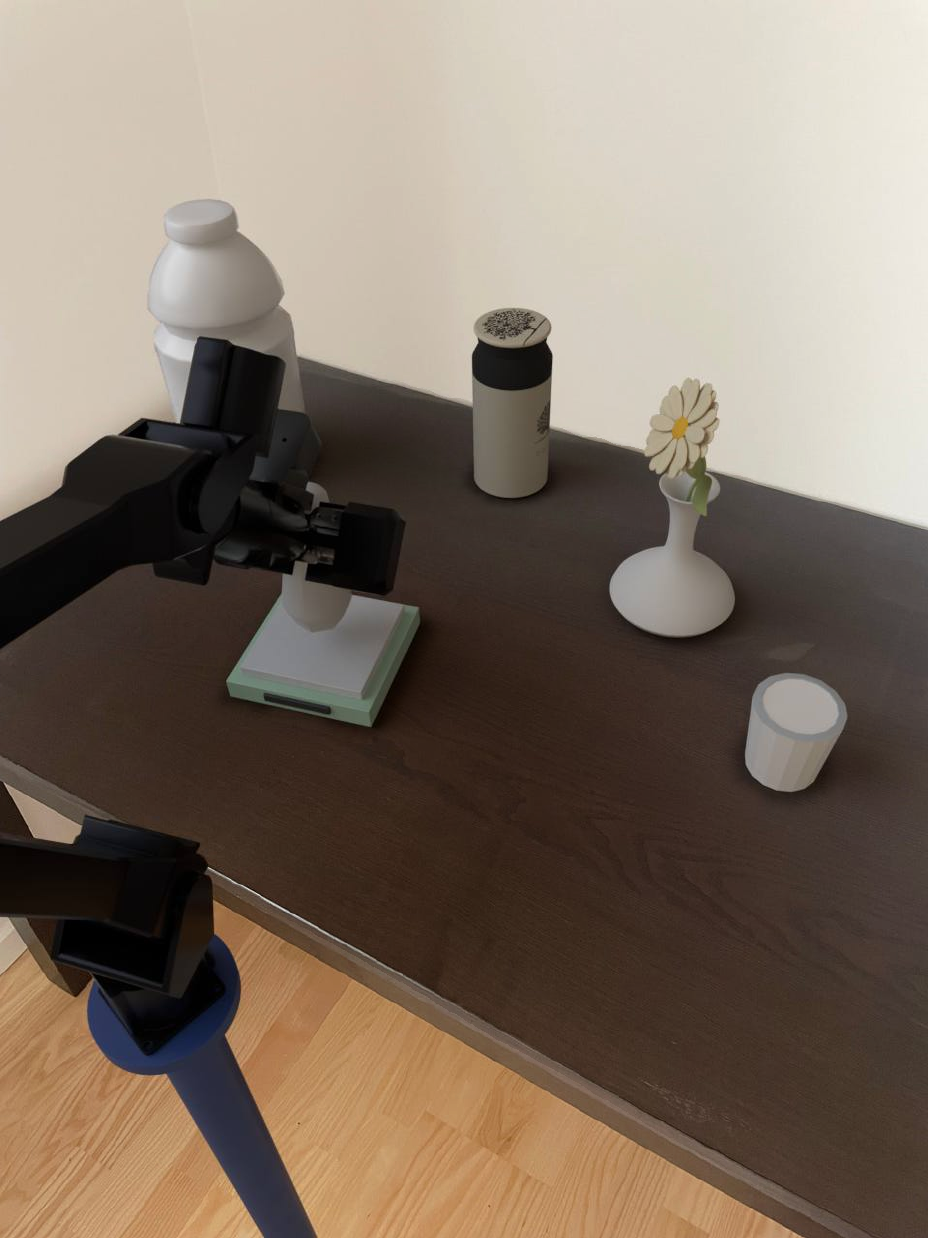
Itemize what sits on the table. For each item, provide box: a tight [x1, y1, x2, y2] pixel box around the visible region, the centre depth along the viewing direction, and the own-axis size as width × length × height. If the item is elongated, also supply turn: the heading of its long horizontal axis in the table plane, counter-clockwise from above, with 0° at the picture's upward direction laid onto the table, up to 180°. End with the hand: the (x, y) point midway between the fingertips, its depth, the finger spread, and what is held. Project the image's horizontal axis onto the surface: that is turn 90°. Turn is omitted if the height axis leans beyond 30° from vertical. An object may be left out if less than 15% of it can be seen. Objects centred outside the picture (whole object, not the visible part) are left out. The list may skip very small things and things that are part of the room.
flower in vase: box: [609, 377, 736, 638], centre depth 82 cm, size 13×11×25 cm
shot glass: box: [744, 672, 849, 793], centre depth 75 cm, size 7×7×7 cm
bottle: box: [146, 198, 307, 423], centre depth 99 cm, size 14×14×28 cm
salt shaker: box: [281, 481, 353, 633], centre depth 78 cm, size 6×6×13 cm
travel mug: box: [471, 307, 554, 499], centre depth 100 cm, size 8×8×18 cm
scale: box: [225, 593, 421, 728], centre depth 86 cm, size 13×13×3 cm
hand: (316, 546), depth 79 cm, fingers closed on salt shaker, 3 cm apart
